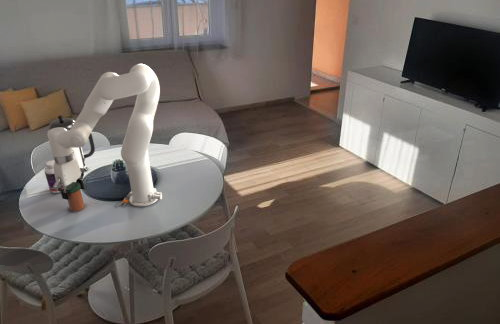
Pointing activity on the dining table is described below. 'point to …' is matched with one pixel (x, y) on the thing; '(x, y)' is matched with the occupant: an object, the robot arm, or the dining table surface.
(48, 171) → the pill bottle
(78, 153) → the coffee press
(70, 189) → the lid
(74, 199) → the jar
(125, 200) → the key chain
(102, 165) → the dining table surface
